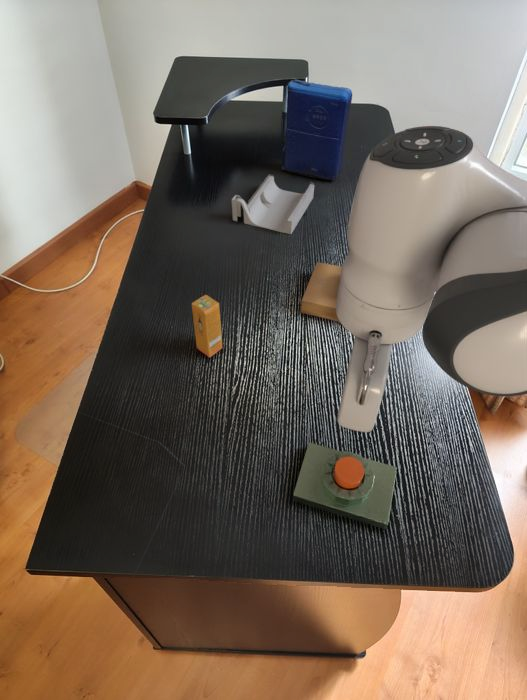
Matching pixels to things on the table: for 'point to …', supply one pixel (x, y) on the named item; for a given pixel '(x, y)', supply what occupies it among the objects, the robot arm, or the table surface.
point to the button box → (327, 495)
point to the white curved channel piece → (273, 207)
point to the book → (316, 129)
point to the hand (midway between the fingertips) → (360, 384)
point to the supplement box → (207, 325)
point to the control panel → (322, 292)
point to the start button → (348, 472)
